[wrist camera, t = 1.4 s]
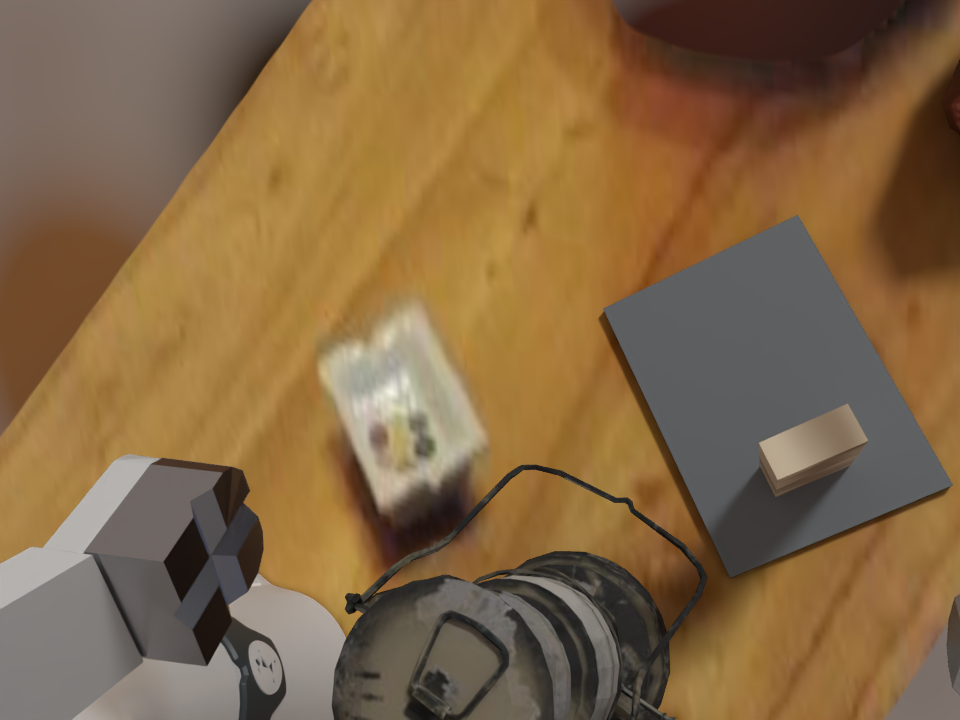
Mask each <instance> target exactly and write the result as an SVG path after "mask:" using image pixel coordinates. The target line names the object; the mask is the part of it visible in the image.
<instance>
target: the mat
mask: <svg viewBox="0 0 960 720" xmlns="http://www.w3.org/2000/svg"><path fill="white" fill-rule="evenodd" d="M603 310H604V312H605V314H606V316H607V318H608V320H609V322H610V324H611V327H612V329H613V331H614V333H615V335H616V337H617V339H618V341H619V344H620V346H621V348H622V350H623V352H624V354H625V356H626V358H627V360H628V363H629V365H630V367H631V369H632V371H633V373H634V375H635V377H636V380H637V382H638V384H639V386H640V388H641V390H642V392H643V394H644V396H645V399H646V401H647V403H648V405H649V407H650V409H651V411H652V413H653V416H654V418H655V420H656V422H657V424H658V426H659V428H660V430H661V432H662V435H663V437H664V439H665V441H666V443H667V445H668V447H669V449H670V452H671V454H672V456H673V458H674V460H675V462H676V464H677V466H678V468H679V471H680V473H681V475H682V477H683V479H684V481H685V483H686V485H687V488H688V490H689V492H690V494H691V496H692V498H693V500H694V502H695V504H696V507H697V509H698V511H699V513H700V515H701V517H702V519H703V521H704V524H705V526H706V528H707V530H708V532H709V534H710V536H711V538H712V541H713V543H714V545H715V547H716V549H717V551H718V553H719V555H720V557H721V560H722V562H723V564H724V566H725V568H726V570H727V572H728V574H729V577H730V578H731V577H734V576H736V575H739V574H741V573H743V572H746V571H748V570H751V569H753V568H755V567H758V566H760V565H763V564H765V563H767V562H770V561H772V560H775V559H777V558H779V557H782V556H784V555H787V554H789V553H791V552H794V551H796V550H799V549H801V548H803V547H806V546H808V545H811V544H813V543H815V542H818V541H820V540H823V539H825V538H827V537H830V536H832V535H835V534H837V533H839V532H842V531H844V530H847V529H849V528H852V527H854V526H856V525H859V524H861V523H864V522H866V521H868V520H871V519H873V518H876V517H878V516H880V515H883V514H885V513H888V512H890V511H892V510H895V509H897V508H900V507H902V506H904V505H907V504H909V503H912V502H914V501H916V500H919V499H921V498H924V497H926V496H928V495H931V494H933V493H936V492H938V491H940V490H943V489H945V488H948V487H950V486H952V485H953V484H952V483H951V481H950V479H949V477H948V476H947V474H946V472H945V470H944V469H943V467H942V465H941V463H940V462H939V460H938V458H937V456H936V455H935V453H934V451H933V449H932V448H931V446H930V444H929V442H928V441H927V439H926V437H925V436H924V434H923V432H922V430H921V429H920V427H919V425H918V423H917V422H916V420H915V418H914V416H913V415H912V413H911V411H910V409H909V408H908V406H907V404H906V402H905V401H904V399H903V397H902V396H901V394H900V392H899V390H898V389H897V387H896V385H895V383H894V382H893V380H892V378H891V376H890V375H889V373H888V371H887V369H886V368H885V366H884V364H883V362H882V361H881V359H880V357H879V355H878V354H877V352H876V350H875V349H874V347H873V345H872V343H871V342H870V340H869V338H868V336H867V335H866V333H865V331H864V329H863V328H862V326H861V324H860V322H859V321H858V319H857V317H856V315H855V314H854V312H853V310H852V309H851V307H850V305H849V303H848V302H847V300H846V298H845V296H844V295H843V293H842V291H841V289H840V288H839V286H838V284H837V282H836V281H835V279H834V277H833V275H832V274H831V272H830V270H829V268H828V267H827V265H826V263H825V262H824V260H823V258H822V256H821V255H820V253H819V251H818V249H817V248H816V246H815V244H814V242H813V241H812V239H811V237H810V235H809V234H808V232H807V230H806V228H805V227H804V225H803V223H802V221H801V220H800V218H799V216H798V215H796V216H794V217H792V218H790V219H788V220H786V221H784V222H782V223H780V224H778V225H776V226H774V227H771V228H769V229H767V230H765V231H763V232H761V233H759V234H757V235H755V236H753V237H751V238H749V239H747V240H745V241H742V242H740V243H738V244H736V245H734V246H732V247H730V248H728V249H726V250H724V251H722V252H720V253H718V254H716V255H713V256H711V257H709V258H707V259H705V260H703V261H701V262H699V263H697V264H695V265H693V266H691V267H689V268H687V269H684V270H682V271H680V272H678V273H676V274H674V275H672V276H670V277H668V278H666V279H664V280H662V281H660V282H658V283H655V284H653V285H651V286H649V287H647V288H645V289H643V290H641V291H639V292H637V293H635V294H633V295H631V296H629V297H626V298H624V299H622V300H620V301H618V302H616V303H614V304H612V305H610V306H608V307H606V308H604V309H603ZM846 404H848V405H849V407H850V409H851V410H852V412H853V414H854V416H855V418H856V419H857V421H858V423H859V425H860V427H861V428H862V430H863V432H864V434H865V436H866V438H867V439H868V442H867V443H866V445H865V446H864V447H863V449H862V450H861V452H860V453H859V454H858V456H857V457H856V458H855V460H854V461H853V462H852V464H851V465H850V466H848V467H846V468H843V469H841V470H839V471H836V472H834V473H832V474H829V475H827V476H825V477H822V478H820V479H818V480H815V481H813V482H811V483H808V484H806V485H804V486H801V487H799V488H797V489H794V490H792V491H790V492H787V493H785V494H783V495H780V496H778V497H776V498H775V496H774V494H773V492H772V490H771V488H770V486H769V484H768V482H767V480H766V478H765V476H764V474H763V472H762V470H761V468H760V460H759V442H762V441H764V440H766V439H768V438H771V437H773V436H775V435H778V434H780V433H782V432H784V431H787V430H789V429H791V428H793V427H796V426H798V425H800V424H802V423H805V422H807V421H809V420H812V419H814V418H816V417H818V416H821V415H823V414H825V413H827V412H830V411H832V410H834V409H837V408H839V407H841V406H843V405H846Z"/></svg>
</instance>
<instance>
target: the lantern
mask: <svg viewBox="0 0 960 720" xmlns="http://www.w3.org/2000/svg"><path fill="white" fill-rule="evenodd" d="M523 470H539V471H543V472H547V473H551V474H555V475H559V476H561V477H563V478H565V479H567V480H569V481H571V482H573V483H575V484H577V485H579V486H581V487H583V488H585V489H588V490H590V491H592V492H594V493H596V494H598V495H600V496H602V497H604V498H606V499H608V500H610V501H612V502H614V503H626V504H628V506H629V509H630V512H631V513H632V514H634V515H635V516H636V517H638V518H639V519H640V520H642V521H643V522H644V523H646V524H647V525H648V526H650V527H651V528H652V529H654V530H655V531H656V532H658V533H659V534H660V535H662V536H663V537H664V538H666V539H667V540H668V541H670V542H671V543H672V544H674V545H675V546H676V547H678V548H679V549H680V550H681V551H682V552H683V553H684V554H685V556H686V557H687V558H688V559H689V560H690V561H691V562H692V564H693V565H694V566H695V567H696V568H697V571H698V573H699V576H700V579H701V580H700V583H699V585H698V588H697V590H696V592H695V594H694V596H693V597H692V599H691V600H690V601H689V603H688V604H687V605H686V607H685V608H684V610H683V611H682V612H681V614H680V615H679V616H678V618H677V619H676V620H675V622H674V623H673V625H672V626H671V627H670V629H669V630H668V631H667V632H666V628H665V625H664V622H663V619H662V616H661V614H660V612H659V610H658V608H657V606H656V604H655V603H654V601H653V599H652V597H651V595H650V594H649V592H648V591H647V590H646V589H645V588H644V587H643V586H642V585H641V583H640V582H639V581H638V580H637V579H636V578H635V577H633V576H632V575H631V574H630V573H629V572H628V571H627V570H625V569H624V568H622V567H620V566H619V565H617V564H615V563H614V562H612V561H610V560H608V559H606V558H603V557H600V556H596V555H593V554H590V553H587V552H570V551H554V552H551V553H548V554H545V555H542V556H539V557H536V558H532V559H529V560H527V561H526V562H524V563H523V564H521V565H520V566H519V567H517V568H516V569H511V570H501V571H496V572H493V573H490V574H488V575H485V576H482V577H479V578H478V579H476V580H475V581H474V582H473V583H471V582H468V581H465V580H462V579H460V578H457V577H453V576H450V575H441V576H437V577H433V578H430V579H426V580H418V581H412V582H410V583H408V584H406V585H404V586H401V587H398V588H394V589H391V590H387V591H383V592H380V593H376V592H377V591H378V590H379V589H380V588H381V587H382V586H383V585H384V584H385V583H386V582H387V581H388V580H389V579H390V578H391V577H392V576H393V575H395V574H396V573H397V572H398V571H399V570H400V569H401V568H402V567H403V566H404V565H405V564H407V563H408V562H410V561H413V560H416V559H419V558H421V557H424V556H427V555H429V554H432V553H435V552H437V551H439V550H440V549H442V548H443V547H444V546H446V545H447V544H448V543H449V542H450V541H451V540H452V539H453V538H454V537H455V536H456V535H457V534H458V533H459V532H460V531H461V530H462V529H463V528H464V527H465V526H466V525H467V524H468V523H469V522H470V521H471V520H472V519H473V518H474V517H475V516H476V515H477V514H478V512H479V511H480V510H481V509H482V508H483V507H484V506H485V505H486V504H487V503H488V502H489V501H490V500H491V499H492V498H493V497H494V496H495V495H496V494H497V493H498V492H499V491H500V490H501V489H502V488H503V487H504V486H505V485H506V484H507V483H508V482H509V481H510V479H512V478H513V477H514V476H516V475H517V474H519V473H520V472H521V471H523ZM504 574H508V575H506V576H505V577H504V578H500V579H493V580H489V581H485V582H481V583H478V582H480V581H482V580H486V579H489V578H492V577H495V576H498V575H504ZM706 580H707V576H706V573H705V571H704V569H703V567H702V565H701V564H700V563H699V562H698V560H697V559H696V558H695V557H694V555H693V554H692V553H691V552H690V550H689V549H688V548H687V547H686V546H685V544H684V543H682V542H681V541H679V540H678V539H676V538H675V537H674V536H672V535H671V534H669V533H668V532H666V531H665V530H664V529H662V528H661V527H659V526H658V525H656V524H655V523H654V522H652V521H651V520H649V519H648V518H646V517H645V516H644V515H642V514H641V513H639V512H638V511H636V510H635V509H634V506H633V502H632V501H631V500H630V499H629V498H615V497H613V496H611V495H609V494H607V493H605V492H603V491H601V490H599V489H597V488H595V487H593V486H591V485H589V484H587V483H585V482H583V481H581V480H579V479H577V478H575V477H573V476H571V475H569V474H567V473H565V472H563V471H561V470H556V469H552V468H548V467H543V466H539V465H521V466H519V467H517V468H515V469H514V470H512V471H511V472H509V473H508V474H507V475H506V476H505V477H504V478H503V479H502V480H501V481H500V482H499V483H498V484H497V485H496V486H495V487H494V488H493V489H492V490H491V491H490V492H489V493H488V494H487V495H486V496H485V497H484V498H483V499H482V501H481V502H480V503H479V504H478V505H477V506H476V507H475V508H474V509H473V510H472V511H471V512H470V513H469V514H468V515H467V516H466V517H465V518H464V519H463V520H462V521H461V522H460V523H459V524H458V525H457V526H456V527H455V528H454V529H453V530H452V531H451V532H450V533H449V535H448V536H447V537H446V538H444V539H443V540H441V541H440V542H438V543H437V544H435V545H433V546H431V547H428V548H425V549H422V550H420V551H417V552H414V553H411V554H409V555H407V556H406V557H405V558H403V559H402V560H400V561H399V562H397V563H396V564H394V565H393V566H392V567H391V568H390V569H389V570H388V571H387V572H385V573H384V574H383V575H382V576H381V577H380V578H379V579H378V580H377V581H376V582H375V583H374V584H373V585H372V586H371V587H370V588H369V589H368V590H367V591H366V592H365V593H364V594H362V595H361V596H360V594H357V593H356V594H351V593H348V594H347V595H346V596H345V598H346V601H347V605H346V607H345V610H346V612H347V613H348V614H352V613H354V612H356V611H357V610H358V611H360V612H362V613H363V615H362V616H361V617H360V618H359V619H358V620H357V621H356V623H355V625H354V626H353V628H352V630H351V631H350V633H349V635H348V636H347V638H346V640H345V642H344V644H343V647H342V650H341V653H340V656H339V659H338V661H337V664H336V667H335V671H334V683H333V695H332V711H333V716H334V720H675V718H676V717H667V716H666V714H667V713H661V712H660V711H658V708H659V706H660V705H661V702H662V699H663V695H664V692H665V688H666V685H667V681H668V678H669V674H670V660H669V640H670V639H671V638H672V636H673V635H674V633H675V632H676V631H677V629H678V628H679V626H680V625H681V623H682V622H683V621H684V619H685V618H686V616H687V615H688V614H689V612H690V611H691V609H692V608H693V607H694V605H695V604H696V602H697V601H698V600H699V598H700V597H701V595H702V592H703V589H704V586H705V583H706ZM477 583H478V584H477ZM375 593H376V594H375ZM373 594H375V595H373ZM372 595H373V596H372Z"/></svg>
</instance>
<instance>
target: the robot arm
mask: <svg viewBox="0 0 960 720" xmlns="http://www.w3.org/2000/svg"><path fill="white" fill-rule="evenodd" d="M249 492H250V489H249V486H248V484H247V481H246V478H245V476H244V473H243V471H242V470H240V469H237V468H234V467H229V466H222V465H214V464H206V463H198V462H191V461H183V460H175V459H167V458H154V457H146V456H138V455H131V454H126V455H124V456H122V457H120V458H118V459H116V460H114V461H113V463H112V464H111V465H110V466H109V467H108V469H107V470H106V471H105V472H104V474H103V475H102V476H101V477H100V478H99V480H98V481H97V482H96V483H95V485H94V486H93V487H92V488H91V489H90V491H89V492H88V493H87V494H86V496H85V497H84V498H83V499H82V500H81V502H80V503H79V504H78V505H77V507H76V508H75V509H74V510H73V511H72V513H71V514H70V515H69V516H68V518H67V519H66V520H65V521H64V522H63V524H62V525H61V526H60V527H59V529H58V530H57V531H56V532H55V533H54V535H53V536H52V537H51V538H50V539H49V541H48V542H47V543H46V544H45V546H44V547H43V548H38V547H30V548H28V549H27V550H25V551H23V552H21V553H19V554H17V555H15V556H14V557H12V558H10V559H8V560H6V561H4V562H3V563H1V564H0V720H334V716H333V711H332V695H333V683H334V671H335V667H336V664H337V661H338V659H339V656H340V653H341V650H342V647H343V644H344V642H345V640H346V637H345V635H344V633H343V631H342V629H341V628H340V626H339V624H338V623H337V622H336V620H335V619H334V618H333V616H332V615H331V614H330V613H329V612H328V611H327V610H326V609H325V608H324V607H323V606H322V605H320V604H319V603H318V602H316V601H315V600H313V599H312V598H310V597H308V596H306V595H304V594H301V593H299V592H296V591H292V590H288V589H283V588H279V587H276V586H274V585H272V584H270V583H269V582H268V581H267V580H266V579H265V578H263V577H262V576H261V575H260V574H258V572H259V567H260V563H261V558H262V554H263V550H264V547H263V531H262V527H261V524H260V521H259V517H258V516H257V515H256V514H255V513H254V512H253V511H252V510H250V509H249V508H248V507H247V506H246V505H245V504H244V503H243V502H244V500H245V498H246V497H247V495H248V493H249ZM947 655H948V667H949V672H950V677H951V682H952V688H953V689H954V690H955V691H956V692H957V693H958V694H959V695H960V594H959V595H958V596H956V597H955V598H954V602H953V605H952V609H951V613H950V616H949V621H948V634H947Z"/></svg>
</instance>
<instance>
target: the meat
mask: <svg viewBox="0 0 960 720" xmlns="http://www.w3.org/2000/svg"><path fill="white" fill-rule="evenodd" d="M942 104H943V107H944V110H945V113H946V116H947V119H948V122H949V125H950V128H951V129H953V130H954V131H956V132H957V133H959V134H960V60H959V63H958V65H957V68H956V70H955V73H954V75H953V78H952V80H951V83H950V85H949V88H948V90H947V93H946V95H945V98H944V100H943V103H942Z"/></svg>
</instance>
